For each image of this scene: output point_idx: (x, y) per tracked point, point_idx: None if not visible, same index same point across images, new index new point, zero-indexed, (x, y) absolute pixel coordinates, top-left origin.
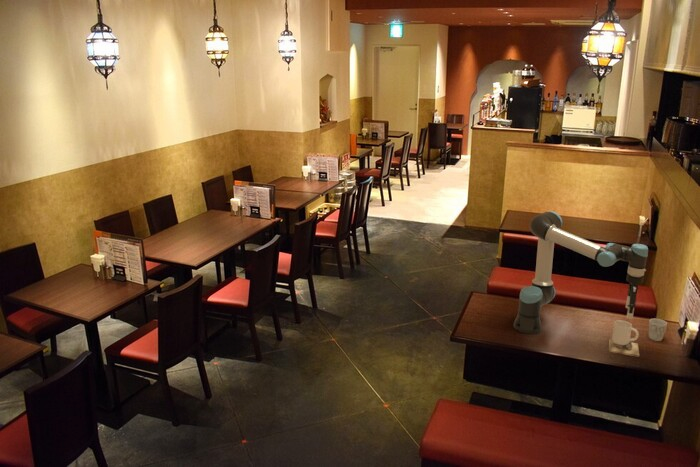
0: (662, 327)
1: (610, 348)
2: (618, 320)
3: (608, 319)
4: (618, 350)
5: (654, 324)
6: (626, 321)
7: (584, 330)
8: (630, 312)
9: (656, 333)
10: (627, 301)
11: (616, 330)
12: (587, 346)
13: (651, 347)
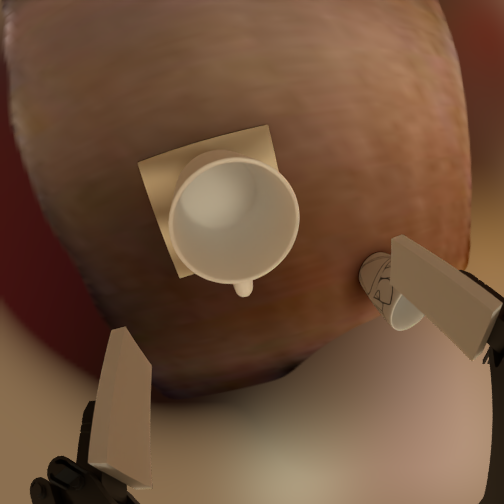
0: (386, 320)
1: (156, 161)
2: (279, 177)
3: (437, 108)
4: (161, 197)
5: (393, 301)
6: (295, 232)
7: (299, 21)
8: (92, 417)
9: (370, 292)
10: (444, 283)
11: (176, 187)
12: (129, 69)
13: (299, 282)
